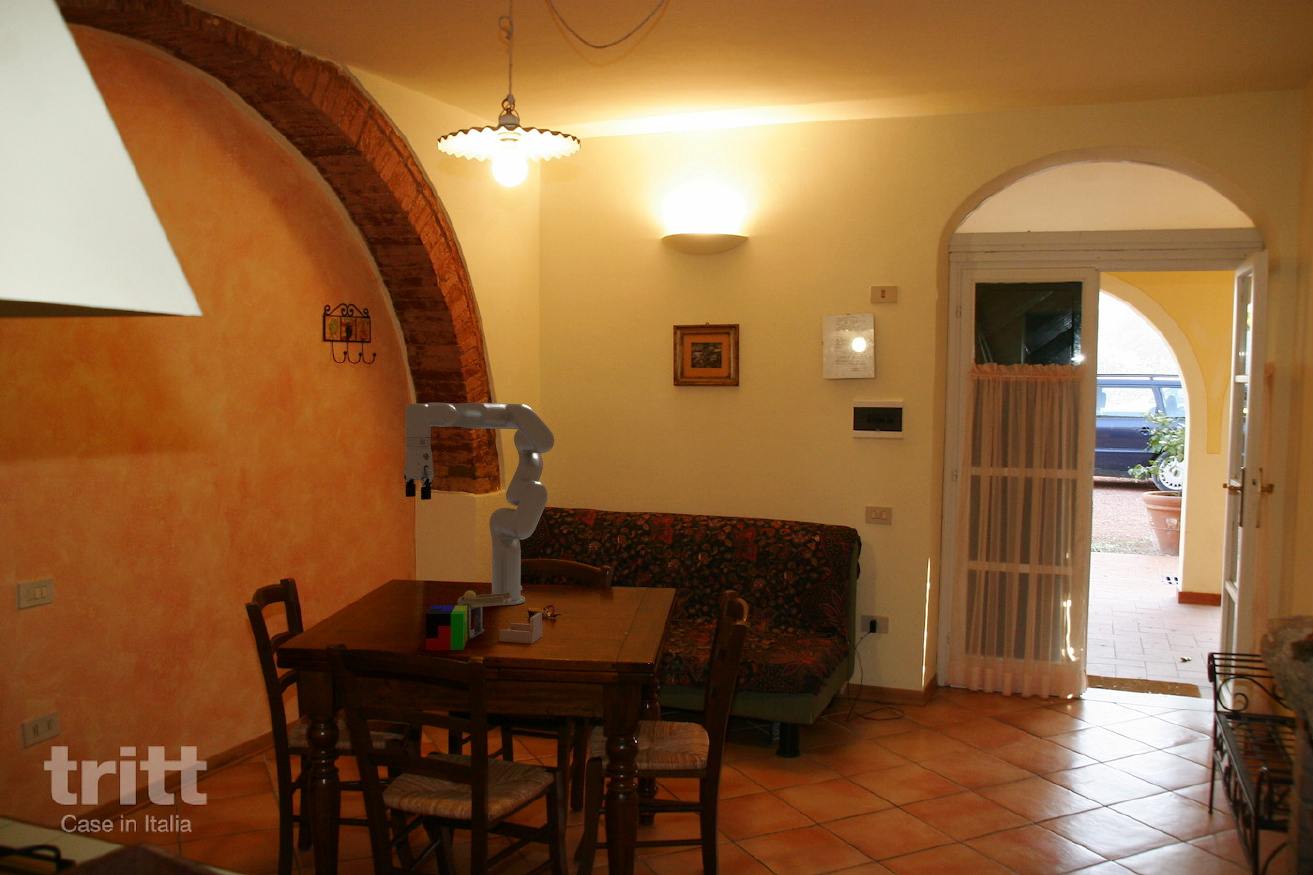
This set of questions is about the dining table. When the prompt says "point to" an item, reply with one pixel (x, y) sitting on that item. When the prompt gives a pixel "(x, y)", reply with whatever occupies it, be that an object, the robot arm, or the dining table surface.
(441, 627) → the puzzle toy
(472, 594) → the ball
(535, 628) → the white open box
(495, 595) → the lever
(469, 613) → the stand
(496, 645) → the dining table surface
